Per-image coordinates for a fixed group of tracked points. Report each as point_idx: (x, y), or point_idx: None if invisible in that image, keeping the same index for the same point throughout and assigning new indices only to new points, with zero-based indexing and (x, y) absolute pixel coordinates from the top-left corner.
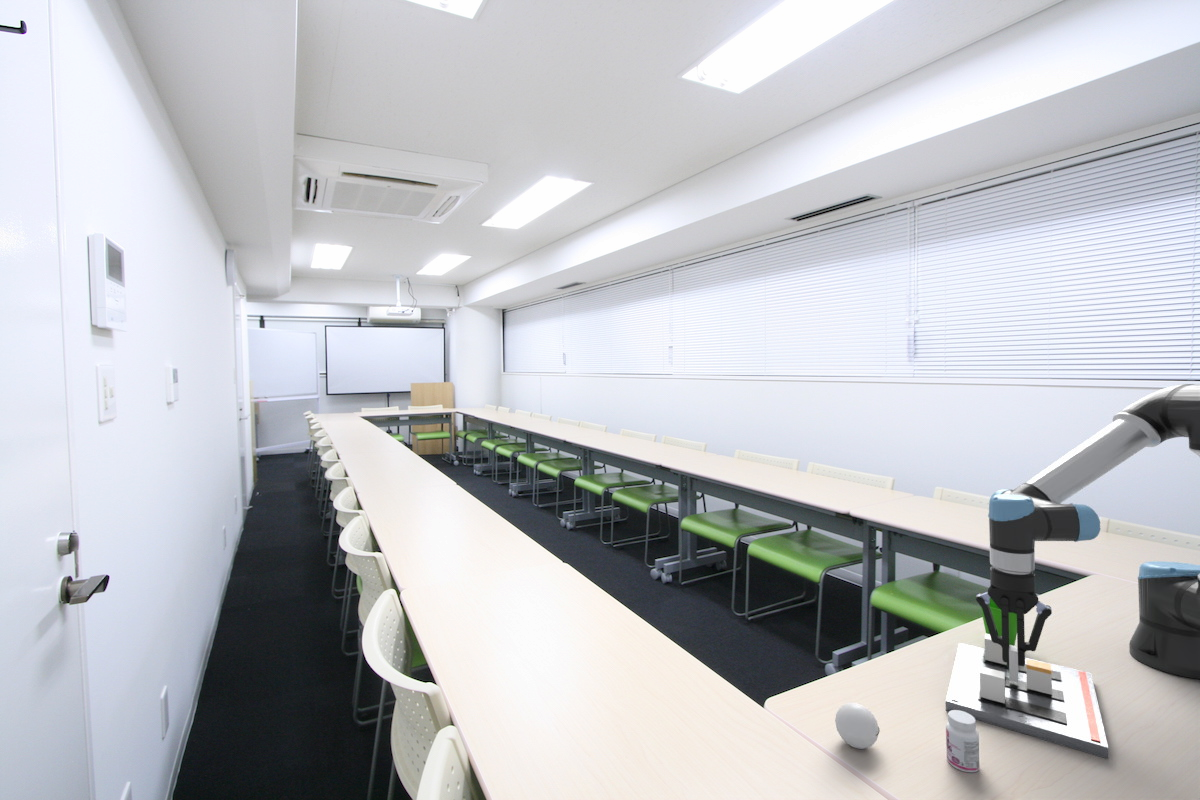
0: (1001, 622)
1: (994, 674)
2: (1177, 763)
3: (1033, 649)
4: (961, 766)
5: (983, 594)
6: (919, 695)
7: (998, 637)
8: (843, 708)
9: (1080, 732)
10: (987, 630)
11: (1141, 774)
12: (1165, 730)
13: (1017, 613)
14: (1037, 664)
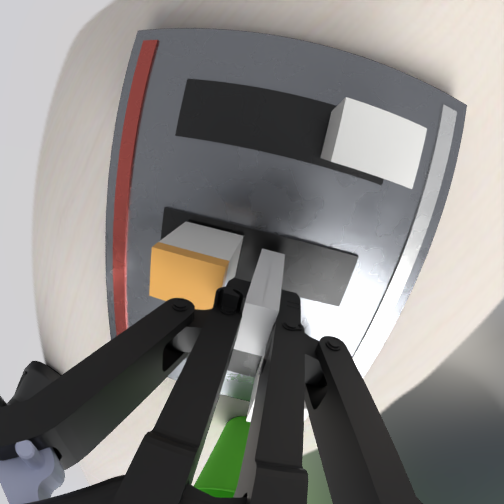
0: (239, 466)
1: (377, 125)
2: (60, 99)
3: (175, 301)
4: None
5: None
6: (490, 166)
7: (312, 366)
8: None
9: (170, 59)
10: None
11: (118, 25)
12: (50, 207)
13: (177, 488)
14: (187, 281)
